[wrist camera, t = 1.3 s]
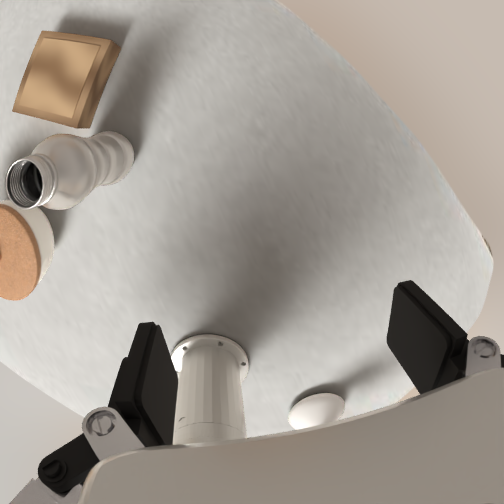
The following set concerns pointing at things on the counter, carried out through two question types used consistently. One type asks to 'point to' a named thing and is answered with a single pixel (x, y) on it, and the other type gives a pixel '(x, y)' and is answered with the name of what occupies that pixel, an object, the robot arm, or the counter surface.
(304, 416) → the flower in vase
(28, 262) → the lidded bowl
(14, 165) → the plastic bottle
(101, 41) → the base slab
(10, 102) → the counter surface
